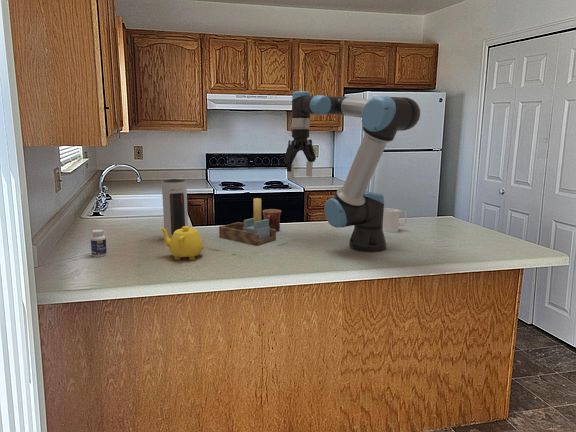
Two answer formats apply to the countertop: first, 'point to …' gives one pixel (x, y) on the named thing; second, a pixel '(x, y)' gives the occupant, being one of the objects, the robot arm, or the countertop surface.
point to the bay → (244, 234)
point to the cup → (392, 220)
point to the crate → (257, 227)
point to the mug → (273, 218)
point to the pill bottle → (98, 243)
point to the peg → (257, 209)
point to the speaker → (174, 205)
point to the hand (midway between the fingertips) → (299, 177)
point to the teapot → (184, 242)
